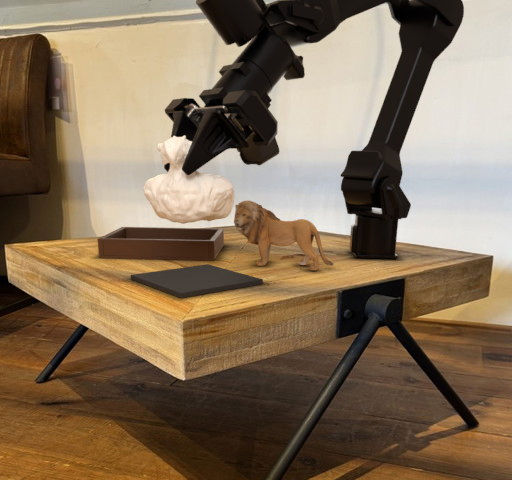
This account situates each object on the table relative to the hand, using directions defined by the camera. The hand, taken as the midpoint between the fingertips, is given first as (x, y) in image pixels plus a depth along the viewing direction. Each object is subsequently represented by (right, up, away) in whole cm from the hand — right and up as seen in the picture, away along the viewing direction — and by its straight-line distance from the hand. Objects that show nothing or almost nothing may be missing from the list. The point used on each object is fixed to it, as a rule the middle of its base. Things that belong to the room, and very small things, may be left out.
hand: (175, 171), depth 69 cm
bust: (+1, -6, +3) cm, 7 cm away
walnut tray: (-5, -6, +24) cm, 25 cm away
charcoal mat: (+2, -13, +3) cm, 13 cm away
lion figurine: (+13, -10, +14) cm, 21 cm away
